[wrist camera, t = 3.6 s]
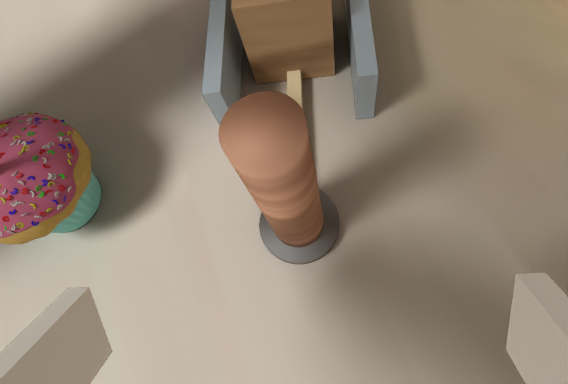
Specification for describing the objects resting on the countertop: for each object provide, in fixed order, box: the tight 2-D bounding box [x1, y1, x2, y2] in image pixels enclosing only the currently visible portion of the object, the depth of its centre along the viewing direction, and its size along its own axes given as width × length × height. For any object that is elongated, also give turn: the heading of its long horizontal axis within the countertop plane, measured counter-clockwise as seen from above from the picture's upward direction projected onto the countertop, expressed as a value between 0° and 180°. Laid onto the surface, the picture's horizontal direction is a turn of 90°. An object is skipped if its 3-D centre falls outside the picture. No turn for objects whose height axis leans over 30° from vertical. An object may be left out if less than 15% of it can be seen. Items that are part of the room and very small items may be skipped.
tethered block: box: [219, 0, 339, 264], centre depth 22 cm, size 20×6×12 cm, turn 1°
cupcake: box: [0, 113, 101, 244], centre depth 22 cm, size 9×8×12 cm
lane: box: [202, 0, 379, 125], centre depth 28 cm, size 14×11×4 cm
